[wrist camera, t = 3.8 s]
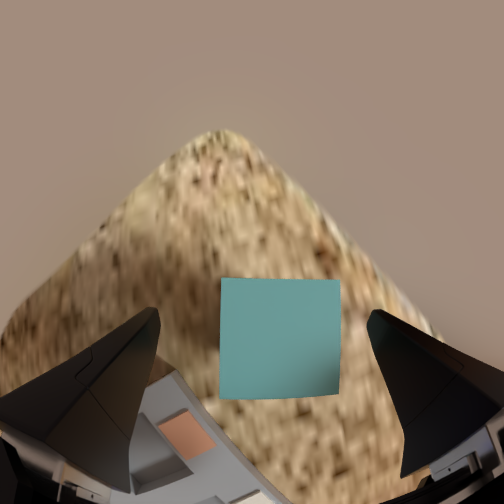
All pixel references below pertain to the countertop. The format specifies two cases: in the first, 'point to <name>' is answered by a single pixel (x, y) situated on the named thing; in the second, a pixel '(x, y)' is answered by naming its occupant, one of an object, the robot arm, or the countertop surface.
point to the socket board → (187, 455)
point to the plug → (279, 338)
